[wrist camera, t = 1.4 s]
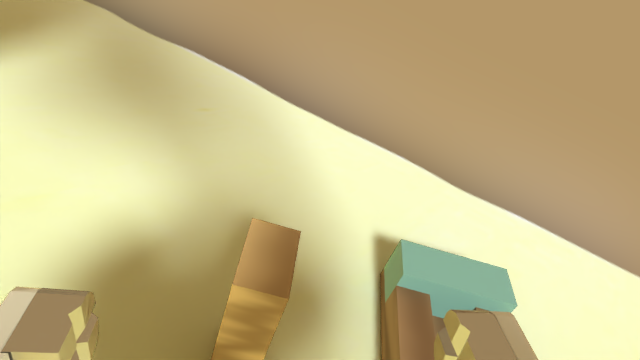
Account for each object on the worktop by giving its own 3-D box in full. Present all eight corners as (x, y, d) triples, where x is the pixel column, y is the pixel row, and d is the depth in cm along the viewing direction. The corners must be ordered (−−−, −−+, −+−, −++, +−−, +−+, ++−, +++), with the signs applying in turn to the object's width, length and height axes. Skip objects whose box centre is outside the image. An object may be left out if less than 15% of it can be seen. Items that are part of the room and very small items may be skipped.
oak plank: (201, 392, 31) (232, 284, 23) (221, 327, 35) (252, 218, 27) (245, 402, 31) (288, 299, 24) (259, 337, 35) (300, 231, 28)
